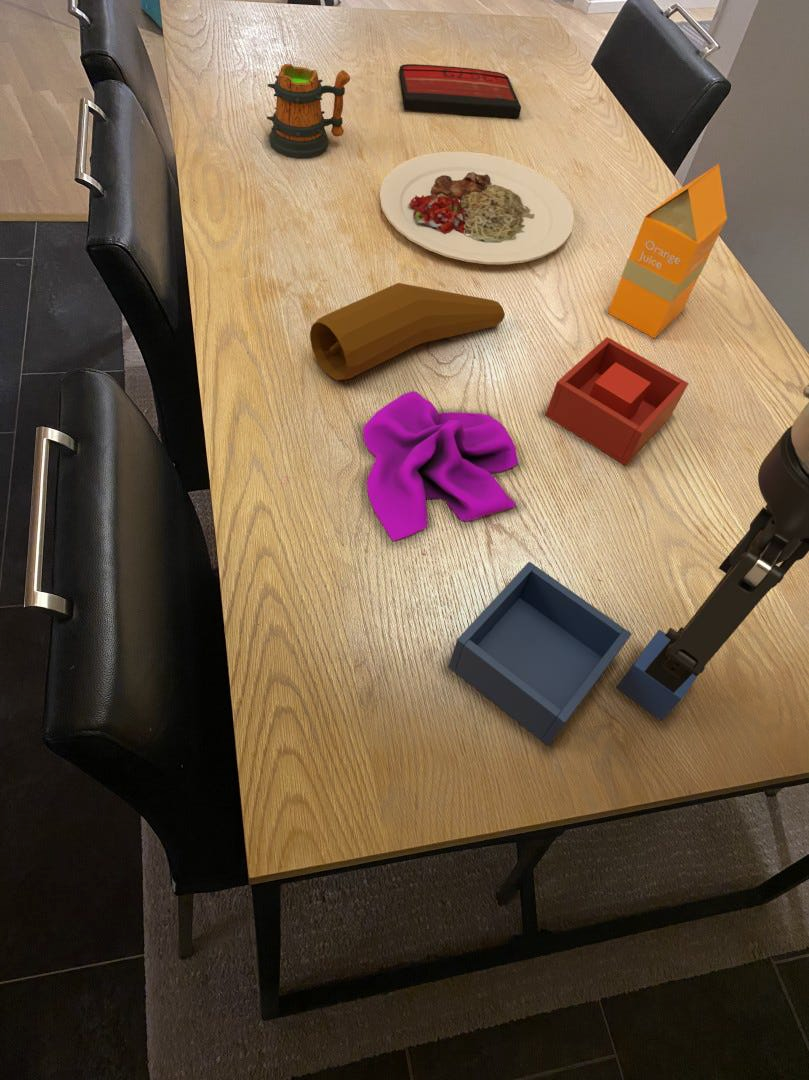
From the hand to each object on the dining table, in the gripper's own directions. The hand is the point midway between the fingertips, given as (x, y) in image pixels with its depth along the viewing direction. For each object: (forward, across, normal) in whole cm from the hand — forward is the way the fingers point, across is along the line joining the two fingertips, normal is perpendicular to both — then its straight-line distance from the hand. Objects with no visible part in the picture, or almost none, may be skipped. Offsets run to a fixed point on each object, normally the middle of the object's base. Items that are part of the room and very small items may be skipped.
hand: (699, 624), depth 64 cm
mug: (+13, -47, -91) cm, 103 cm away
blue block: (+12, 0, 0) cm, 12 cm away
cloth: (+12, -7, -32) cm, 35 cm away
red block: (+11, -29, -22) cm, 38 cm away
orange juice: (+12, -51, -29) cm, 60 cm away
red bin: (+12, -29, -22) cm, 38 cm away
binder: (+13, -81, -86) cm, 118 cm away
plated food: (+13, -52, -60) cm, 80 cm away
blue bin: (+12, +6, -10) cm, 16 cm away
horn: (+12, -21, -48) cm, 53 cm away
